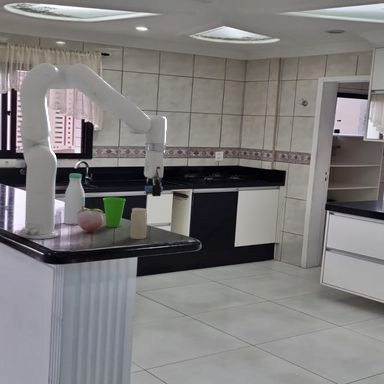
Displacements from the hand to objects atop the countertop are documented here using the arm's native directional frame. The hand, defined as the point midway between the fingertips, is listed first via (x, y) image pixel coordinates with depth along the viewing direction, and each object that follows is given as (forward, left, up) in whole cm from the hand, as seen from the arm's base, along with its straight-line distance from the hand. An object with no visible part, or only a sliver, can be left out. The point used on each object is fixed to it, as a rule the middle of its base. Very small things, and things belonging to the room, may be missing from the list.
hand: (153, 194), depth 217 cm
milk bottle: (+7, +34, -15) cm, 38 cm away
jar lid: (0, 0, +3) cm, 3 cm away
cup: (+8, +18, -15) cm, 25 cm away
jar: (-10, +2, -15) cm, 18 cm away
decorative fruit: (-9, +21, -15) cm, 28 cm away
